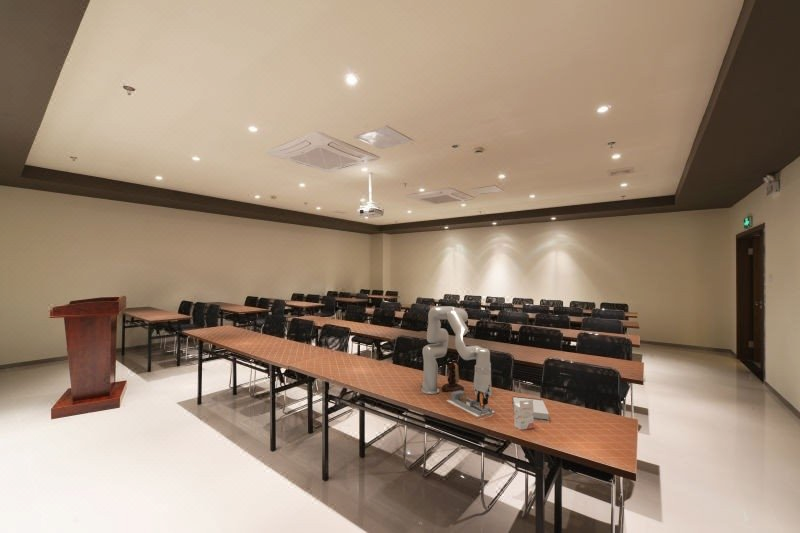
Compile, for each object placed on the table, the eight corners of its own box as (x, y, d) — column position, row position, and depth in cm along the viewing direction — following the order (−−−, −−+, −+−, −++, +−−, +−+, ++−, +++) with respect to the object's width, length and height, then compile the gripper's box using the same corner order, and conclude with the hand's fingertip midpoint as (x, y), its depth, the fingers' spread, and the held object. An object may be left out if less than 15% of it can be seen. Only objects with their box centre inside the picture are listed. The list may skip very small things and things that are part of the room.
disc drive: (542, 407, 207) (542, 399, 207) (549, 422, 185) (549, 413, 185) (512, 404, 211) (512, 396, 211) (515, 418, 189) (515, 409, 189)
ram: (469, 408, 196) (470, 389, 197) (478, 406, 199) (478, 388, 200) (480, 413, 189) (480, 394, 189) (488, 411, 192) (489, 392, 192)
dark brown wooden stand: (459, 396, 222) (459, 365, 223) (438, 391, 230) (439, 362, 231) (467, 390, 235) (467, 361, 236) (447, 386, 243) (447, 357, 243)
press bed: (445, 403, 209) (446, 392, 209) (463, 399, 216) (463, 389, 216) (476, 419, 186) (476, 407, 186) (494, 414, 193) (495, 403, 193)
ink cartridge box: (527, 424, 181) (527, 396, 181) (533, 428, 176) (534, 399, 177) (513, 426, 178) (514, 397, 179) (519, 430, 174) (519, 401, 174)
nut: (458, 402, 207) (458, 395, 207) (463, 401, 209) (463, 394, 209) (462, 404, 203) (463, 397, 203) (468, 403, 205) (468, 396, 205)
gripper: (467, 367, 198) (467, 399, 198) (488, 375, 184) (488, 409, 183) (477, 366, 202) (476, 397, 201) (498, 373, 188) (498, 407, 187)
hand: (482, 402), depth 192 cm, fingers open, 4 cm apart
